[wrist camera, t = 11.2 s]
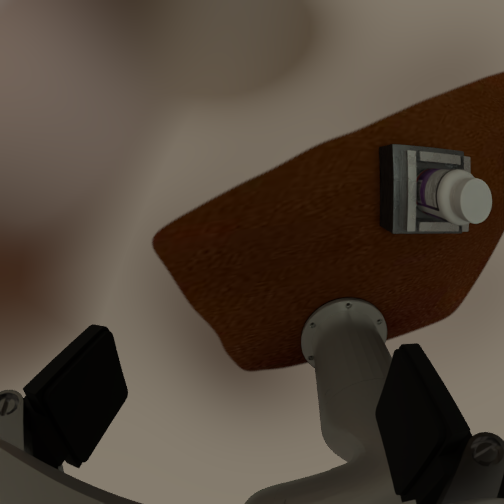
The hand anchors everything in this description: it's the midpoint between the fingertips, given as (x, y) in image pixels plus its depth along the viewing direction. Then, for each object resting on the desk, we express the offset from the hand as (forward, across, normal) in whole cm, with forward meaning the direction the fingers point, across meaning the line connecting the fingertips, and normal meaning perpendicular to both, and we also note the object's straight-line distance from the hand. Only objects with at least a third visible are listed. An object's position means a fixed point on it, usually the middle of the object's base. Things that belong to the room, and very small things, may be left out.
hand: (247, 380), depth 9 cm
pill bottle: (+25, -18, -5) cm, 31 cm away
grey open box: (+30, -18, -5) cm, 35 cm away
